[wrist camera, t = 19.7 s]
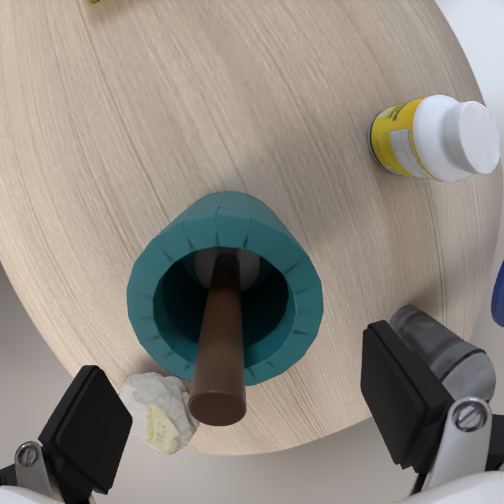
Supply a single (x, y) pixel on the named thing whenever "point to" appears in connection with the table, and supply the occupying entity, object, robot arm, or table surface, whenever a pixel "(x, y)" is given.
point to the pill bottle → (435, 139)
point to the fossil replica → (159, 411)
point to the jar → (252, 300)
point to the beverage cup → (446, 354)
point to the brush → (221, 335)
